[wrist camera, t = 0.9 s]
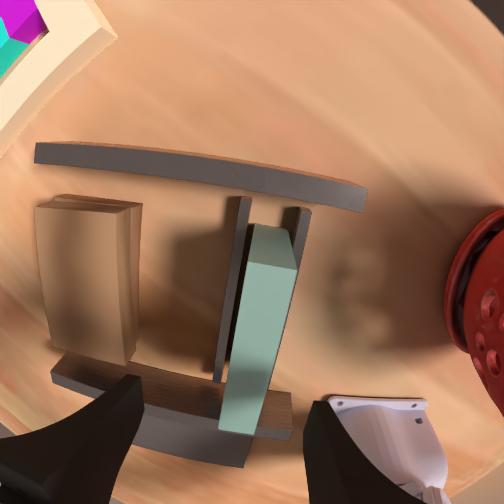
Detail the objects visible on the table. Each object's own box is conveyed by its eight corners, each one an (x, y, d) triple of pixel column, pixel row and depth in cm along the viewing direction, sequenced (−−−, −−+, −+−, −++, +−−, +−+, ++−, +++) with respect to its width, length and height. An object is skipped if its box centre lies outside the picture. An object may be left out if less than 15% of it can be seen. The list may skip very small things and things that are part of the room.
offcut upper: (130, 207, 18) (116, 213, 16) (135, 349, 21) (125, 366, 19) (52, 201, 18) (34, 207, 16) (66, 333, 21) (53, 346, 19)
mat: (259, 412, 24) (258, 417, 23) (243, 463, 26) (243, 468, 26) (96, 374, 24) (93, 378, 23) (106, 431, 26) (104, 435, 26)
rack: (348, 181, 18) (368, 189, 15) (287, 403, 24) (288, 440, 20) (71, 141, 18) (35, 142, 15) (75, 355, 24) (52, 382, 20)
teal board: (287, 229, 20) (297, 270, 13) (258, 363, 23) (253, 434, 16) (254, 223, 20) (247, 261, 13) (230, 358, 23) (218, 429, 16)
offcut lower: (145, 202, 20) (133, 207, 18) (141, 334, 23) (131, 349, 21) (70, 192, 20) (54, 197, 18) (74, 317, 23) (62, 329, 21)
